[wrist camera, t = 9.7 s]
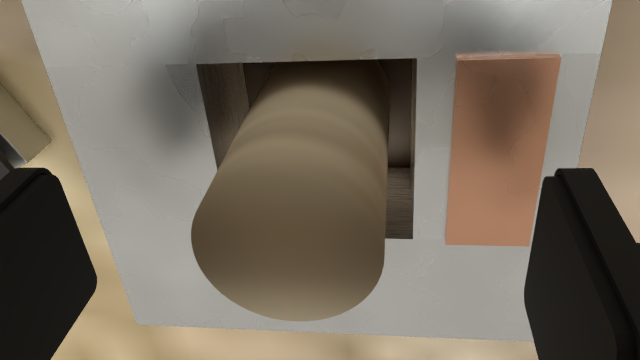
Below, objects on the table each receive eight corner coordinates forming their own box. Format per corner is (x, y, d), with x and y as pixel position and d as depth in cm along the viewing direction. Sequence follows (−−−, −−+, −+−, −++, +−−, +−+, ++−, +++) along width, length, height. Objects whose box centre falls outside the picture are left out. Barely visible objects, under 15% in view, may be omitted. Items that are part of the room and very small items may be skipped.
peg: (258, 37, 15) (172, 169, 9) (389, 33, 15) (384, 169, 9) (274, 150, 17) (210, 318, 11) (390, 150, 17) (385, 324, 11)
